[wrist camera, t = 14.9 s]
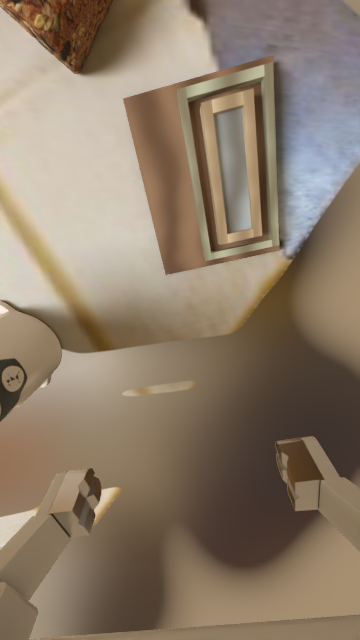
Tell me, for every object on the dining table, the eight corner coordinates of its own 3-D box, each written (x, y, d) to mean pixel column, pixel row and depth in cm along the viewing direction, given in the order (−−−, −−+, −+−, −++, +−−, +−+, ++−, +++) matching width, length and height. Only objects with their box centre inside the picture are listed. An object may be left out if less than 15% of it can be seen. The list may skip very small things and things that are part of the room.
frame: (218, 243, 34) (220, 244, 32) (199, 110, 28) (201, 102, 26) (257, 234, 34) (262, 235, 32) (248, 96, 27) (253, 88, 26)
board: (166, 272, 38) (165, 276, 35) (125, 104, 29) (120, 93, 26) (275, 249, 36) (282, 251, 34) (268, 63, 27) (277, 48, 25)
